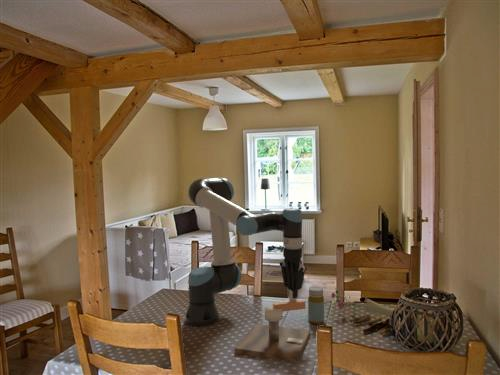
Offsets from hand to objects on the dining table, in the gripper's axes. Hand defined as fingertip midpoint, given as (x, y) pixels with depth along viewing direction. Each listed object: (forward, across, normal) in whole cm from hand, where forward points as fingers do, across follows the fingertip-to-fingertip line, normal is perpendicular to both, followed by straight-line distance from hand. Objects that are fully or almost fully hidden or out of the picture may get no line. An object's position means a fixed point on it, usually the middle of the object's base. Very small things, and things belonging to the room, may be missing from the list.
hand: (292, 305), depth 163 cm
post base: (+14, -2, -9) cm, 17 cm away
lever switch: (+4, 0, -5) cm, 6 cm away
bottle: (+14, -5, +20) cm, 25 cm away
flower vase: (+14, +10, +40) cm, 43 cm away
